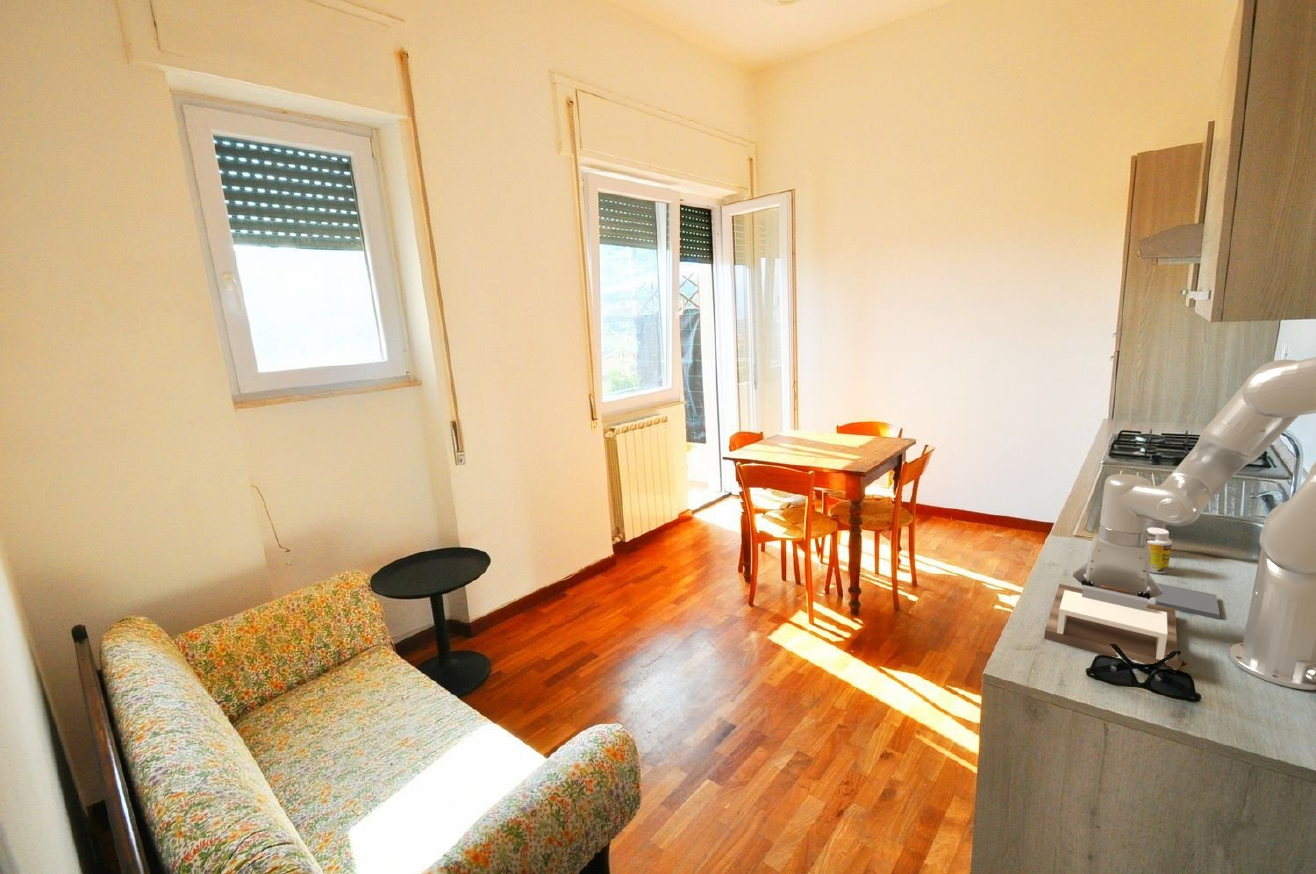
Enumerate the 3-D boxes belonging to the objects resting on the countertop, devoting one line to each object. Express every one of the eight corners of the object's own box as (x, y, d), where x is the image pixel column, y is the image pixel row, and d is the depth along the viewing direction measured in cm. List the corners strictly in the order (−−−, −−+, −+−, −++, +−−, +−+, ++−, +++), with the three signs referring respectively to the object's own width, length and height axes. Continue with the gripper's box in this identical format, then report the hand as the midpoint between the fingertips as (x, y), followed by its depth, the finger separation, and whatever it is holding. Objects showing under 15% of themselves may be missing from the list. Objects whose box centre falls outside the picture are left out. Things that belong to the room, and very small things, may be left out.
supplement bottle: (1162, 576, 137) (1168, 536, 134) (1134, 568, 141) (1139, 530, 139) (1171, 569, 140) (1177, 530, 137) (1142, 562, 144) (1148, 524, 142)
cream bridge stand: (1062, 612, 121) (1065, 581, 119) (1163, 637, 110) (1168, 603, 109) (1056, 632, 114) (1060, 599, 112) (1163, 660, 104) (1168, 624, 102)
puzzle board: (1058, 591, 133) (1059, 583, 133) (1173, 617, 120) (1175, 608, 120) (1044, 638, 116) (1045, 629, 116) (1176, 674, 103) (1177, 664, 103)
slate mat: (1215, 598, 126) (1216, 594, 126) (1219, 619, 119) (1219, 614, 119) (1155, 586, 133) (1156, 582, 132) (1155, 605, 125) (1156, 601, 125)
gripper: (1177, 537, 115) (1164, 618, 119) (1073, 520, 126) (1064, 596, 130) (1178, 550, 109) (1165, 635, 113) (1069, 532, 120) (1060, 610, 124)
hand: (1111, 613), depth 121 cm, fingers closed on block, 5 cm apart
